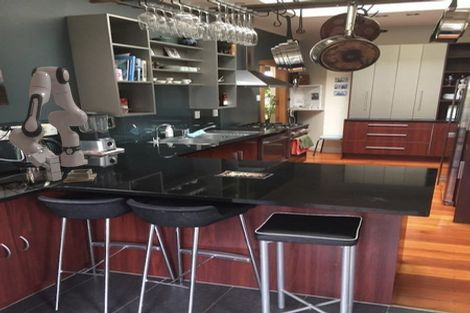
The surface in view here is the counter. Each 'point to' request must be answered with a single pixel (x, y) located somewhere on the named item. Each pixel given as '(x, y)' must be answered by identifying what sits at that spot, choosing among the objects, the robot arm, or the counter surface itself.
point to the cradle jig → (80, 176)
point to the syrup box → (53, 168)
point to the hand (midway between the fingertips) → (53, 166)
